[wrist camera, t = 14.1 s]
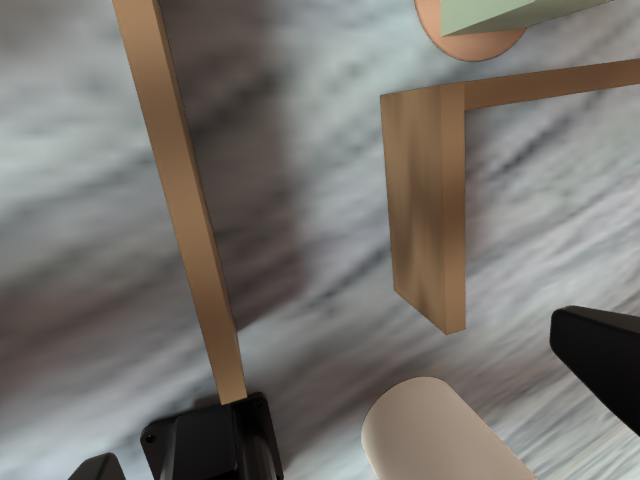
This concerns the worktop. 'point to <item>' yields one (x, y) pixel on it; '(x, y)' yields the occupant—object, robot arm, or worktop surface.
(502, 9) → the block
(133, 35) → the channel
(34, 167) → the worktop surface
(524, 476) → the cylindrical container
